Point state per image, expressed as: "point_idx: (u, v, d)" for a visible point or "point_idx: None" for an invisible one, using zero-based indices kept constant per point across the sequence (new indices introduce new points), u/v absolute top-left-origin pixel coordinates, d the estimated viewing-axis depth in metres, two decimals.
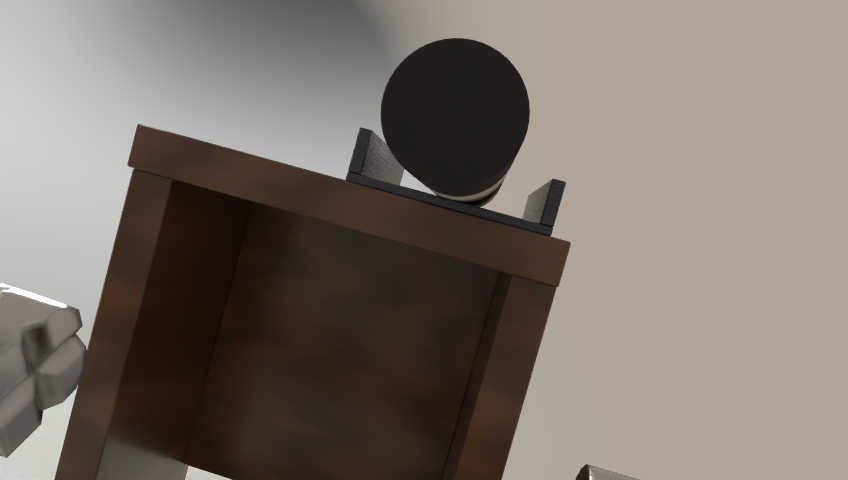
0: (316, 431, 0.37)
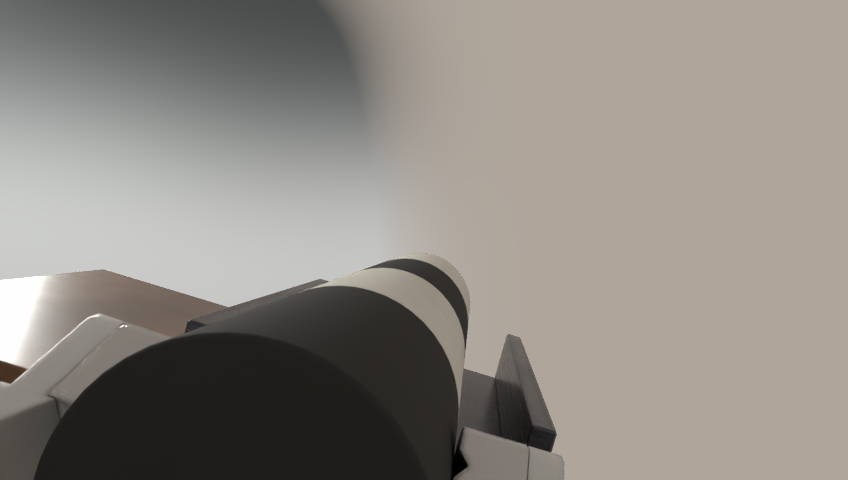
0: None
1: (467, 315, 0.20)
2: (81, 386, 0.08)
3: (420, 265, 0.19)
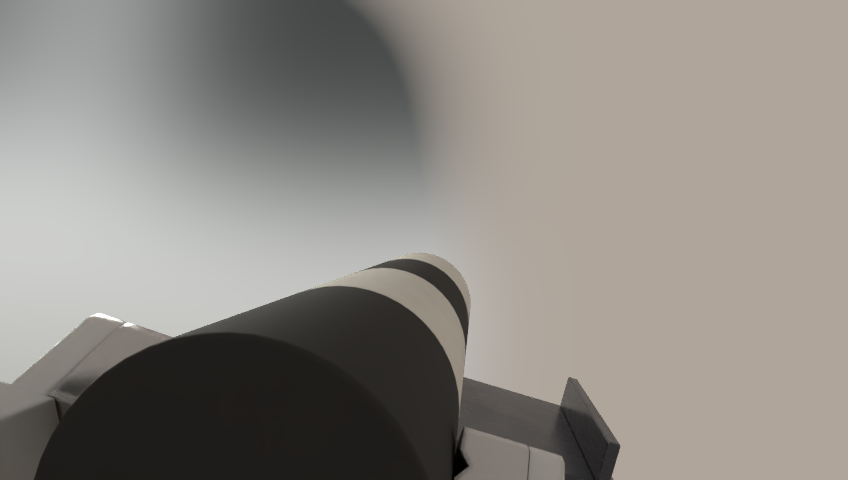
0: None
1: (468, 315, 0.20)
2: (80, 386, 0.08)
3: (421, 265, 0.19)
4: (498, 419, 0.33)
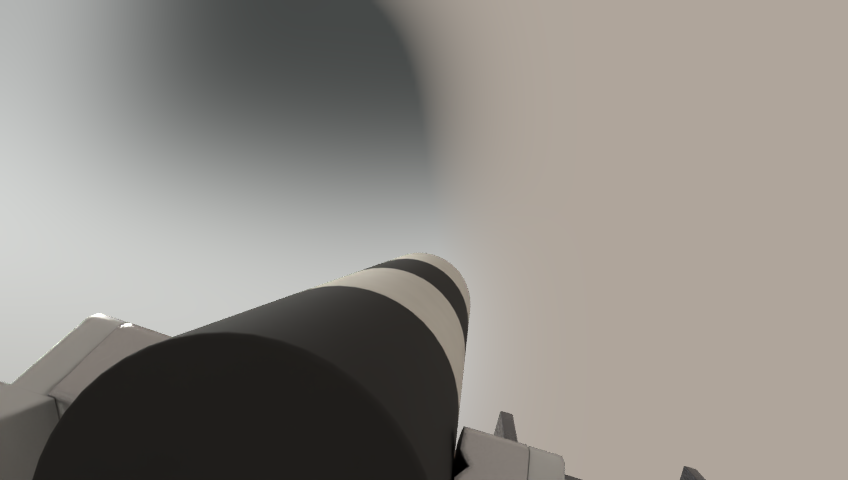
0: None
1: (467, 315, 0.20)
2: (80, 387, 0.08)
3: (420, 265, 0.19)
4: None
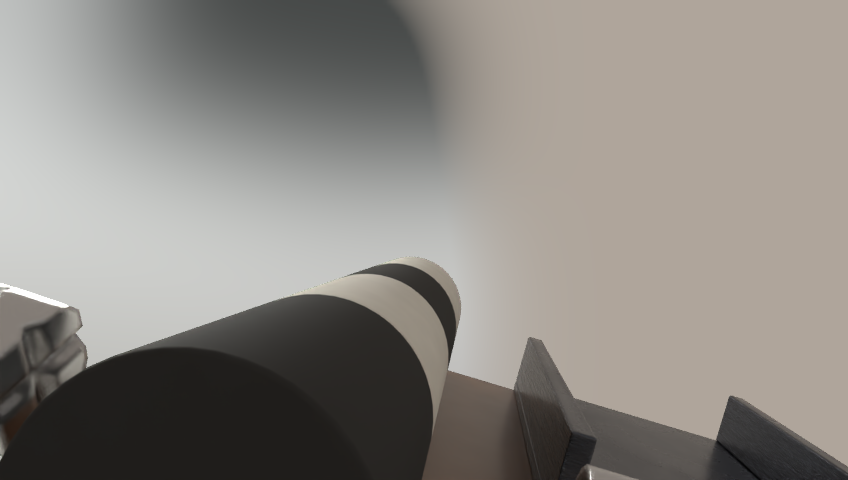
0: None
1: (452, 306, 0.20)
2: None
3: (392, 267, 0.19)
4: (660, 476, 0.18)
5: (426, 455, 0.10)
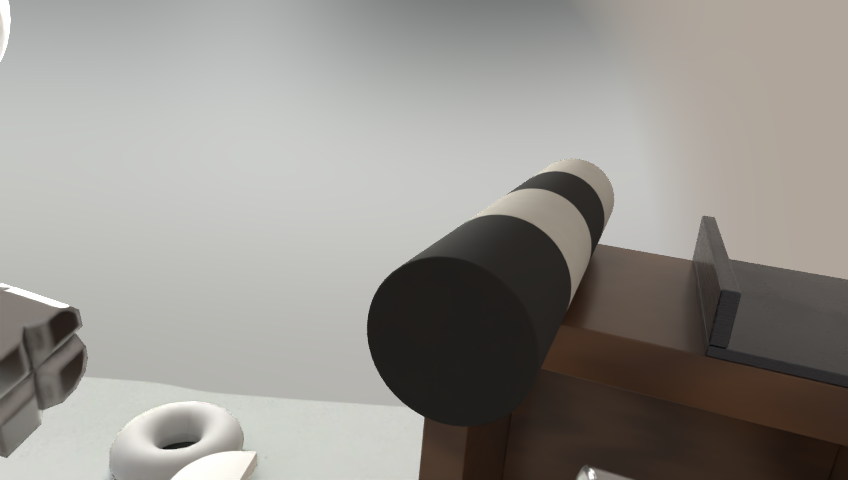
0: None
1: (579, 178, 0.27)
2: None
3: None
4: (816, 319, 0.23)
5: (552, 258, 0.17)
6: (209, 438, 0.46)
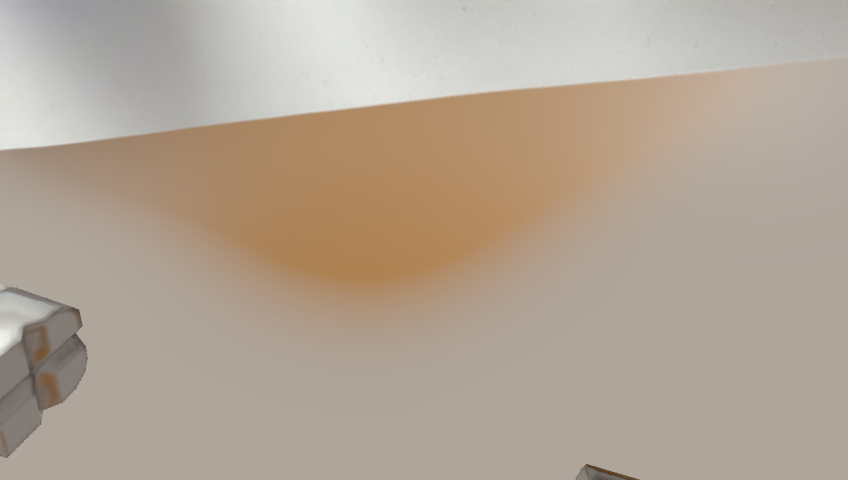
0: None
1: None
2: None
3: None
4: None
5: None
6: None
